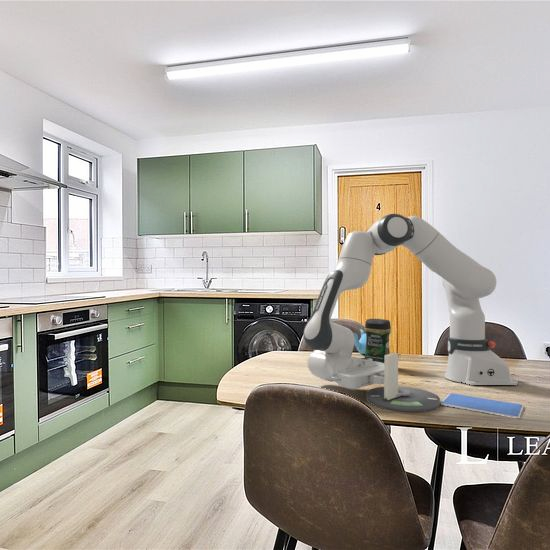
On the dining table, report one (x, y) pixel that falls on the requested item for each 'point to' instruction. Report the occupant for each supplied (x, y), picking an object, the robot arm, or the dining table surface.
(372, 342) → the coffee jar
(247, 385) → the dining table surface
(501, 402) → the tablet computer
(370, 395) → the grey disc base
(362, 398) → the dining table surface
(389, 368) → the white l-shaped block
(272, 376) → the dining table surface
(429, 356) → the dining table surface
